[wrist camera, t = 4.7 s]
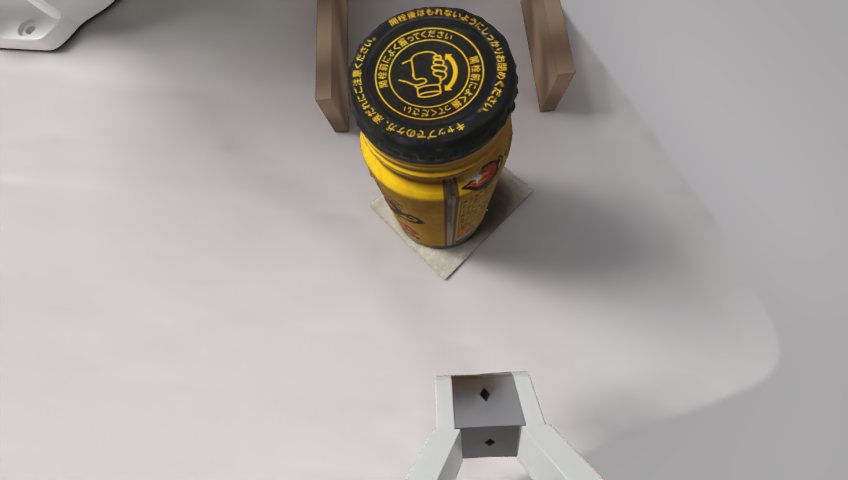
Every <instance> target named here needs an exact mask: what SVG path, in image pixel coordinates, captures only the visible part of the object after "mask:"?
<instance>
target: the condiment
mask: <svg viewBox="0 0 848 480" xmlns="http://www.w3.org/2000/svg"><path fill="white" fill-rule="evenodd" d="M517 84H518V76H517V74H516V64H515V62H514V59H513V56H512V54H511V51H510V48H509V45H508V43H507V41H506V39H505V37H504V36H503V35H502V34H501V33H500V32H498V31H497V30H496V29H495V28H494V27H493V26H492V25H491V24H489V23H487V22H486V21H485V20H484V19H483V18H481V17H479V16H476V15H474V14H471V13H469V12H467V11H465V10H463V9H458V8H446V7H428V8H427V7H423V8H420V9H414V10H411V11H407V12H404V13H401V14H398V15H396V16H393V17H392V18H390V19H388V20H387V21H385V22H384V23H382V24H380V25H379V26H378V27H377V28H376V29H374V31H373V32H372V33H371V34H370V35H369V36H368V37H367V38H366V39H365V40H364V41H363V43H362V44H360V45H359V47H358V50H357V53H356V56H355V58H354V60H353V62H352V64H351V66H350V67H349V71H348V93H349V98H350V106H351V111H352V113H353V114H354V116H355V119H356V123H357V125H358V127H359V128H360V130H361V133H360V142H361V149H362V153H363V156H364V159H365V162H366V164H367V166H368V168H369V171H370V175H371V176H372V177H373V178H374V179H375V181H376V183H377V185H378V186H379V188H380V190H381V192H382V194H381V195H380V196H379V197H378V198H377V199H375V200H374V201H373V202H372V203H370V204H369V205H370V206H371V207H372V208H373V209H374V210H375V211H376V212H377V213H378V214H379V215H380V217H381V218H382V219H384V220H385V221H386V222H387V224H388V225H389V226H390V227H391V228H392V229H393V230H394V231H395V232H396V233H397V234H398V235H399V236H400V237H401V238H402V239H403V240H404V241H405V242H407V243H408V244H409V245H410V246H411V247H412V248H413V249H414V250H415V251H416V252H417V253H418V254H419V255H420V256H421V257H422V258H423V259H424V261H426V262H427V263H428V264H429V265H430V266H431V267H432V268H433V269H434V270H435V271H436V272H437V273H438V274H439V275H440V276H441V277H442V278H443V279H444V280H445V279H446V278H447V277H448V276H449V275H450V274H451V273H452V272H453V271H454V270H455V269H456V268H457V267H458V266H459V265H460V264H461V263H462V262H463V261H464V260H465V259H466V258H467V257H468V256H469V255H470V254H471V253H472V252H473V251H474V250H475V249H476V248H477V247H478V246H479V245H480V244H481V243H482V242H483V241H484V240H485V239H486V238H487V237H488V236H489V235H490V234H491V233H492V232H493V230H494V229H495V228H496V227H497V226H498V225H499V224H500V223H501V222H502V221H503V220H504V219H505V218H506V217H507V216H508V215H509V214H510V213H511V212H512V211H514V209H515V208H516V207H517V206H518V205H519V204H520V203H521V202H522V201H523V200H524V199H525V198H526V197H527V196H528V195H529V194H530V193H531V192H532V191H533V189H532V188H531V187H529V186H528V185H527V184H526V183H524V182H522V181H521V180H520V179H519V178H517V177H516V176H515V175H514V174H512V173H511V172H510V171H509V170H508V169H506V168H505V167H504V164H505V162H506V159H507V157H508V154H509V150H510V146H511V141H512V134H513V132H512V124H511V113H512V112H513V110H514V109H515V102H514V100H515V98H516V96H517V94H518V89H517ZM487 209H488V211H486V210H487Z"/></svg>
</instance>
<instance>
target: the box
mask: <svg viewBox="0 0 848 480" xmlns="http://www.w3.org/2000/svg"><path fill="white" fill-rule="evenodd" d="M521 5H522V11H523V16H524V22H525V28H526V33H527V39H528V45H529V50H530V56H531V62H532V67H533V73H534V79H535V84H536V90H537V96H538V101H539V107H540V111H550V110H555V108H556V106H557V105H558V103H559V101H560V99H561V97H562V96H563V94H564V92H565V90H566V88H567V87H568V85H569V83H570V81H571V79H572V77H573V76H574V74H575V69H574V64H573V59H572V55H571V50H570V45H569V41H568V36H567V31H566V27H565V22H564V17H563V13H562V8H561V3H560V0H521ZM315 100H316V102H317V103H318V105H319V107H320V108H321V110H322V111H323V113H324V115H325V116H326V118H327V119H328V121H329V123H330V124H331V126H332V127H333V129H334V131H335V132H340V131H349V127H348V12H347V0H317V45H316V94H315Z"/></svg>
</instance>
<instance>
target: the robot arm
mask: <svg viewBox="0 0 848 480" xmlns="http://www.w3.org/2000/svg"><path fill="white" fill-rule="evenodd" d="M114 1H115V0H0V48H14V49H31V50H53V49H56V48H58V47H59V46H61V45H62V44H63V43H64V42H65V41H66V40H67V39H68V38H69V37H70V36H71V35H72V34H73V33H74V32H75V31H76V29H77V28H78V27H79V26H80V25H81V24H82V23H84V22H85V21H86V20H88V19H89V18H91V17H92V16H94V15H96V14H97V13H99V12H100V11H102V10H103V9H105V8H106V7H107V6H109V5H110V4H111V3H112V2H114ZM451 380H452V383H451ZM435 389H436V424H437V430H432V431H431V433H430V435H429V437H428V438H427V440H426V442H425V444H424V446H423V448H422V450H421V452H420V453H419V455H418V457H417V459H416V461H415V463H414V465H413V466H412V468H411V470H410V472H409V474H408V476H407V478H406V480H455V479H456V476H457V474H458V471H459V469H460V466H461V464H462V461H463V460H462V459H464V458H479V457H517V459H518V460H519V462H520V463H521V464H522V466H523V467H524V469H525V470H526V471H527V473H528V474H529V476H530V477H531V478H532V479H533V480H603V478H602V477H601V476H600V475H599V474H598V473H597V472H596V471H595V470H594V469H593V468H592V467H591V466H590V465H589V464H588V463H587V462H586V461H585V460H584V459H583V458H582V457H581V456H580V454H579V453H578V452H577V451H576V450H575V449H574V448H573V447H572V446H571V445H570V444H569V443H568V442H567V441H566V440H565V439H564V438H563V437H562V436H561V435H560V434H559V433H558V432H557V431H556V430H555V429H554V428H553V427H552V426H551V425H546V424H545V421H544V418H543V415H542V412H541V409H540V406H539V403H538V400H537V397H536V394H535V391H534V388H533V385H532V381H531V378H530V375H529V374H528V372H527V371H520V372H500V373H486V374H474V375H454V376H451V375H448V376H436V380H435Z"/></svg>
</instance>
